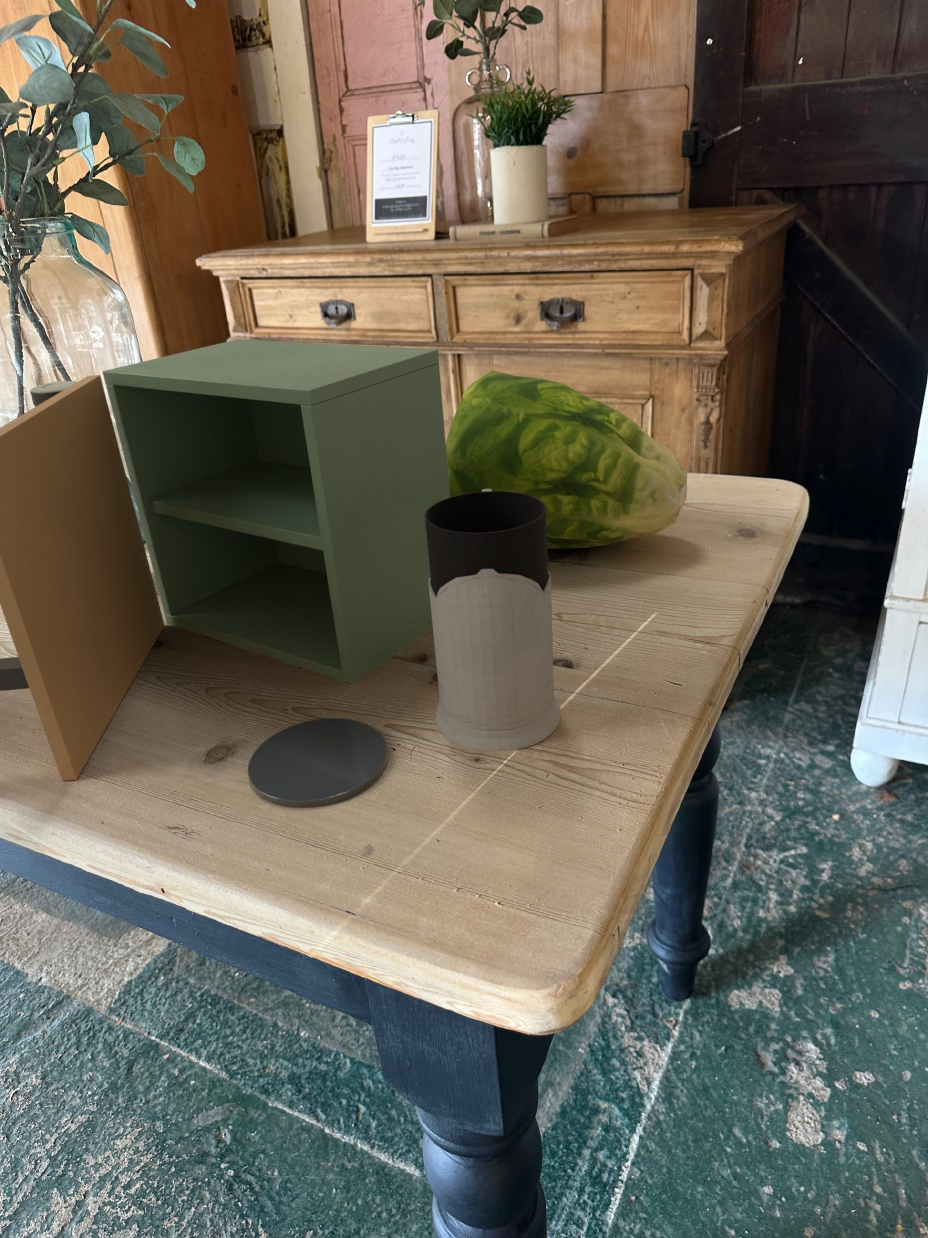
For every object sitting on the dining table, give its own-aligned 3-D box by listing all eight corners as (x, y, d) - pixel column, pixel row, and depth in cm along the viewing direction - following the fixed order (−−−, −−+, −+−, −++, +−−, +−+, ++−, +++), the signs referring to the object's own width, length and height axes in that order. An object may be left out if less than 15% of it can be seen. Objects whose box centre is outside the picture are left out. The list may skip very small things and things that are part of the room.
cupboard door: (-36, 789, 56) (-170, 467, 46) (81, 632, 76) (4, 382, 66) (77, 780, 56) (-34, 456, 46) (164, 625, 76) (100, 374, 66)
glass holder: (431, 755, 56) (408, 541, 49) (441, 648, 69) (425, 467, 62) (566, 749, 56) (561, 532, 49) (551, 643, 68) (546, 459, 62)
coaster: (246, 820, 52) (244, 812, 51) (252, 736, 60) (250, 729, 59) (395, 795, 53) (394, 787, 53) (381, 716, 61) (380, 709, 60)
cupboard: (353, 685, 65) (308, 390, 55) (166, 623, 76) (101, 371, 66) (459, 610, 75) (438, 349, 65) (280, 565, 86) (238, 338, 76)
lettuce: (659, 607, 86) (683, 536, 71) (436, 559, 90) (413, 482, 75) (690, 465, 91) (718, 370, 76) (477, 426, 96) (464, 328, 80)
